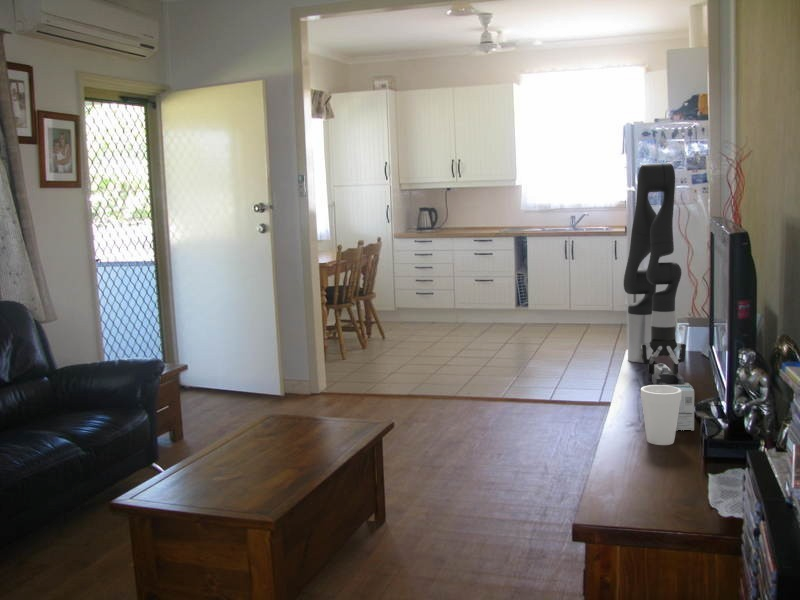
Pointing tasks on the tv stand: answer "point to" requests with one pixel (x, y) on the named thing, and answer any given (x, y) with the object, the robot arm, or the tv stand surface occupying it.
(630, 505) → the tv stand surface
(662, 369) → the bolted link plate
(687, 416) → the light bulb box
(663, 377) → the end link
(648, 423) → the foam cup
